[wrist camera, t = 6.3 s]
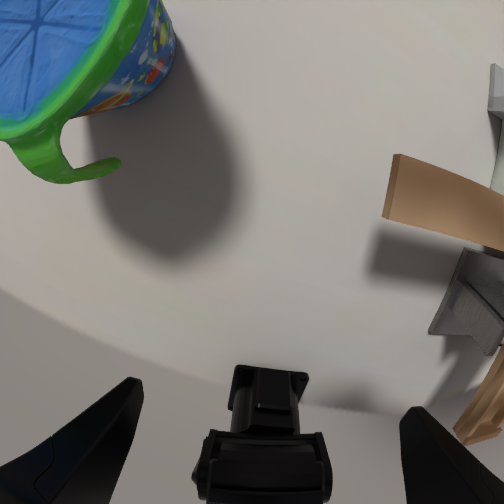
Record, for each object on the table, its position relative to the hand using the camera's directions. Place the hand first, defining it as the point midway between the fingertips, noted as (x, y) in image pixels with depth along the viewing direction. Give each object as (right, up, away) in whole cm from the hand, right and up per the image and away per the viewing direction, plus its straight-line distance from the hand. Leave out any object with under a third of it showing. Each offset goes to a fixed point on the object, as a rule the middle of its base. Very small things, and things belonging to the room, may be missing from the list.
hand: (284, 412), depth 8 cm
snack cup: (-9, +18, +7) cm, 22 cm away
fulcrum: (+20, +1, +13) cm, 24 cm away
